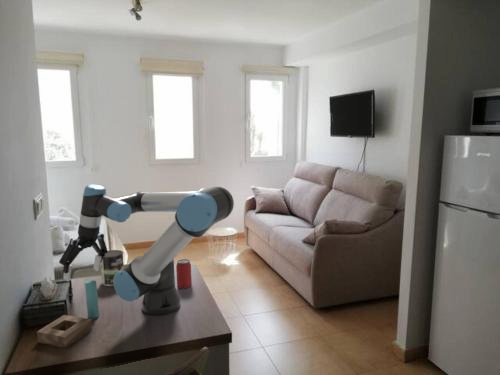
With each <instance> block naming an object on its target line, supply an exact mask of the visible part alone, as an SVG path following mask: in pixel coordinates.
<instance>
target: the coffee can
mask: <svg viewBox="0 0 500 375" xmlns="http://www.w3.org/2000/svg"><path fill="white" fill-rule="evenodd" d="M107 251H108V252H107V253H105V256H104V257H102V262H101V263H100V270H101V271H100V272H101V284H102V285H103V286H105V287H114V284H113V279H114V276H115V274H116V273H118V272H119V271H120V270H123V269H125V266H124V251H122V250H120V249H111V250H107Z"/></svg>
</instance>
